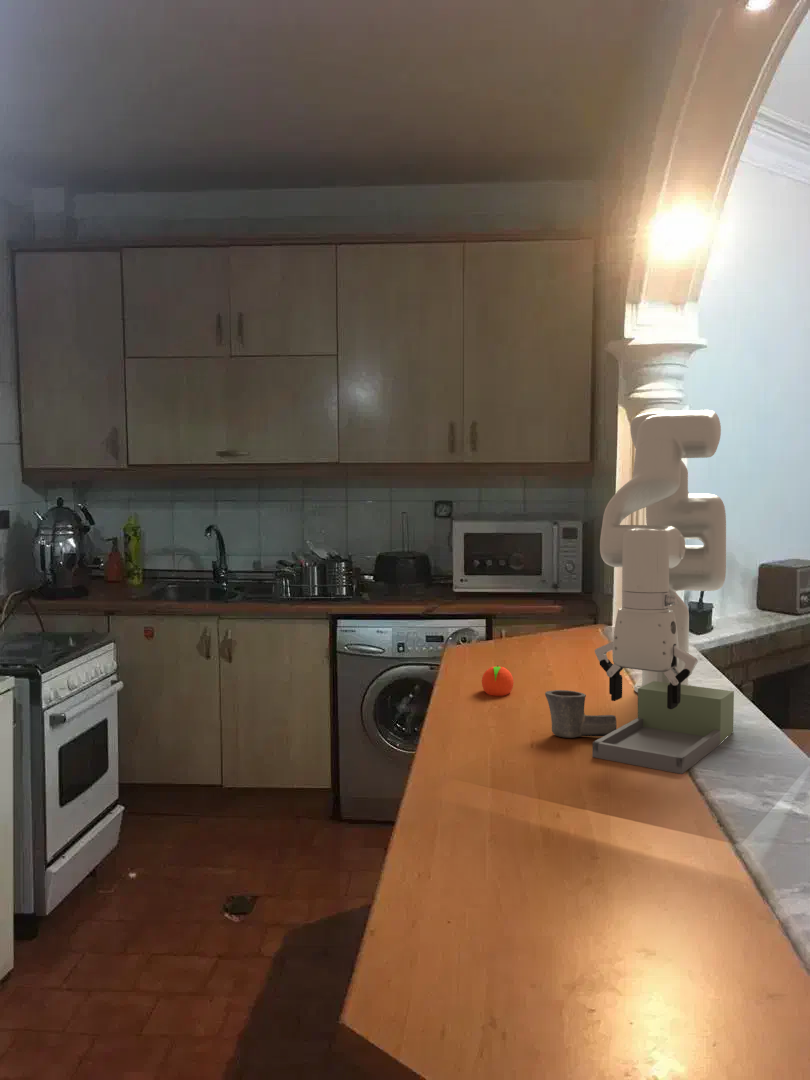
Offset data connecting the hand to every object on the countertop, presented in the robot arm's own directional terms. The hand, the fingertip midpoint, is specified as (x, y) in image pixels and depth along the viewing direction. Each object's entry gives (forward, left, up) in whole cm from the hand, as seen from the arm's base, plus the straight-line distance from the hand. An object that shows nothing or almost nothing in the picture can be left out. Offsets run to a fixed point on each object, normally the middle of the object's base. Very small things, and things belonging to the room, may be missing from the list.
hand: (644, 703), depth 142 cm
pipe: (-4, -14, -9) cm, 17 cm away
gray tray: (-4, +1, -9) cm, 10 cm away
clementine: (-22, -41, -9) cm, 47 cm away
